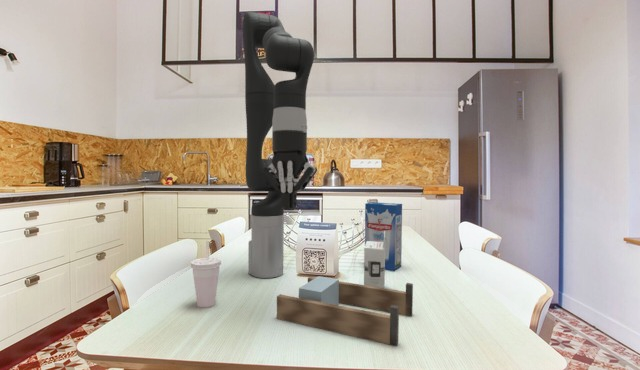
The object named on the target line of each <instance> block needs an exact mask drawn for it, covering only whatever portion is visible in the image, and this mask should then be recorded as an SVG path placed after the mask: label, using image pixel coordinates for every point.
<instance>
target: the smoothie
mask: <svg viewBox="0 0 640 370" xmlns="http://www.w3.org/2000/svg"><path fill="white" fill-rule="evenodd" d="M205 243H206V244H205V245H206V247H205V248H206V251H205V252H206V253H205V254H206V256H205V257H201V258H200V257H199V258H195V259H193V260H191V261H190V268H191V269H192V275H193V282H194V289H195V297H196V298H195V299H196V305H197V307H198V308H210V307H213V306H214V305H215V304H216V297H217V290H218V281H219V273H220V266H221V265H222V260H221V259H220V258H218V257H211V256H210V240H206V242H205Z"/></svg>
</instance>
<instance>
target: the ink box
mask: <svg viewBox="0 0 640 370" xmlns="http://www.w3.org/2000/svg"><path fill="white" fill-rule="evenodd" d="M363 248H364V249H363V250H364V256H363V257H364V258H363V261H364V262H363V266H364V267H363V285H366V286H373V287H379V288H385V280H386V276H385V275H386V270H385V231H384V242H374V241H367V242H366V244H365V243H364V247H363Z"/></svg>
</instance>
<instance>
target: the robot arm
mask: <svg viewBox="0 0 640 370" xmlns="http://www.w3.org/2000/svg"><path fill="white" fill-rule="evenodd" d="M283 25H284V24H283V23H282V21H281V20H280V18H278V17H277V16H275V15H272V14H266V13H261V12H254V11H246V12H245V13H244V14H243V17H242V22H241V32H242V34H241V35H242V45H243V46H242V47H243V55H244V59H243V60H244V70H245V71H244V74H245V75H244V76H245V77H244V79H245V80H244V81H245V82H244V84H245V86H244V88H245V92H244V93H245V95H244V97H245V99H244V100H245V116H246V117H245V120H246V151H245V152H246V153H245V155H246V156H245V182H246V186H247V188H248V190H250V191H251V192H267V195H266V197H264V199H262V200H260V201H258V202H256V203H254V204H252V206H251V232H250V233H251V234H250V235H251V239H250V240H249V241H248V261H247V262H248V265H247V267H248V269H247V271H248V275H251V276H253V277H255V278H261V279H271V278H277V277H281V276H282V275H283V274H284V269H285V268H284V267H285V266H284V257H285V255H284V249H285V248H284V245H285V244H284V242H285V241H284V239H285V237H284V232H285V231H284V230H285V229H284V226H285V225H284V224H285V223H284V222H285V221H284V217H285V213H284V211H294V210H295V209H296V207H297V203H298V202H297V194H298V192H300V191H303V190H305V189H306V187H308V186H309V184H310V182H311V180H312V179H313V178H314V176H315V175H316V173H317V172H318V168H317V167H316V166H315V167H314V166H312V164H310V163H309V159H308V157H307V152H308V151H307V150H308V149H307V148H308V146H307V145H308V123H307V122H308V119H307V112H306V109H307V105H306V104H307V101H306V100H307V87H308V82H309V78H310V74H311V70H312V67H313V63H314V59H315V49H314V47H313V45H312V43H311V42H310V41H309V40H308V39H307V40H306V39H302V38H296V37H293V36H292V35H291V34H290V33H289V32H287V31H286V30H285V28H284V26H283ZM257 48H258V49H264V52H265V61H266V64H267V66H268V67H269V69H271V70H274V71H279V72H285V73H286V72H287V73H295V77H294V78H293V79H287V80H286V79H285V80H281V81H278V82H276V83H274V82H273V81H272V80H273V79H271V77H270V76H269V74H268V73H267V71H266V70H265V67H264V66H263V64H262V62H261V61H260V57H259V55H258V50H257ZM270 130H272V131H271V132H272V134H271V137H272V138H271V139H272V140H271V141H272V142H271V143H272V144H271V145H272V146H271V147H272V148H271V149H272V153H273V156H272V158H263V156H262V155H263V145H264V142H265V140H266V138H267V135H268V134H269V132H270ZM302 173H303V174H302ZM301 174H302V176H301Z"/></svg>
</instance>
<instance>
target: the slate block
mask: <svg viewBox="0 0 640 370" xmlns="http://www.w3.org/2000/svg"><path fill="white" fill-rule="evenodd" d="M339 281H340V279H338V278H334V277H333V278H332V277H325V276H319V275H318V276H317V277H315V279H313V280H311V281H310V282H308V281H307V282H306V283H305V284H303V285H302V286H300V287H298V298H302V299H307V300H312V301H318V302H323V303H328V304H333V305H339V306H340V303H339Z"/></svg>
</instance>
